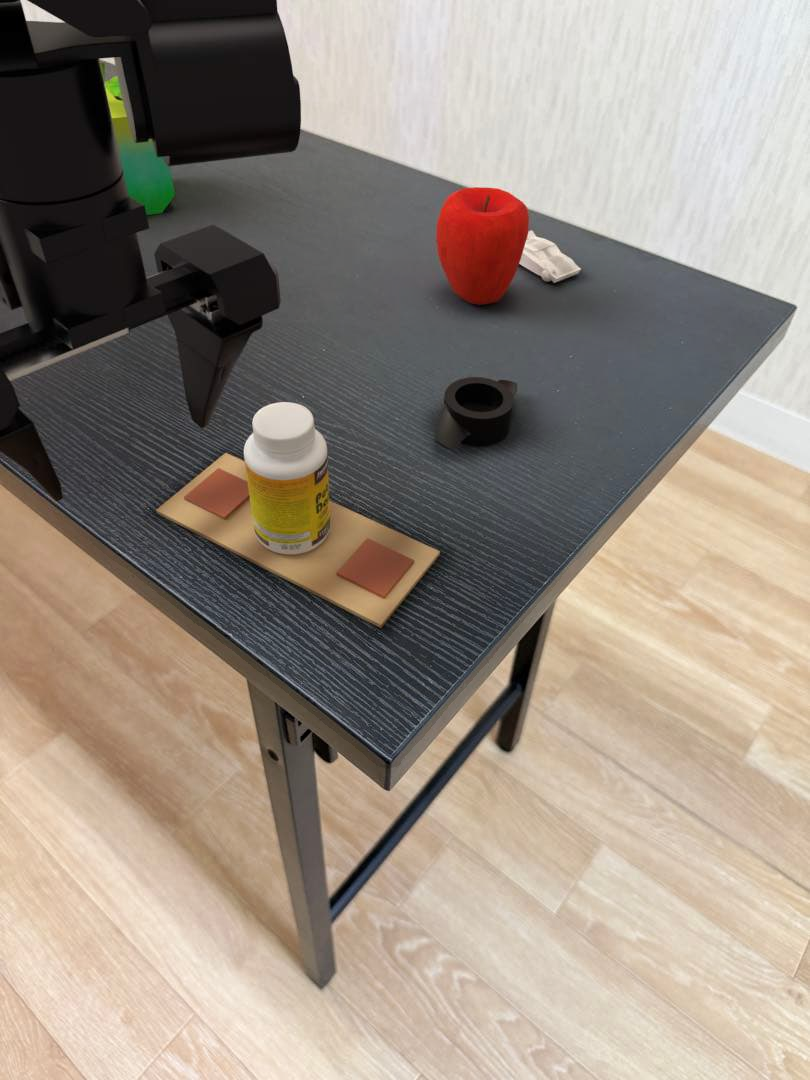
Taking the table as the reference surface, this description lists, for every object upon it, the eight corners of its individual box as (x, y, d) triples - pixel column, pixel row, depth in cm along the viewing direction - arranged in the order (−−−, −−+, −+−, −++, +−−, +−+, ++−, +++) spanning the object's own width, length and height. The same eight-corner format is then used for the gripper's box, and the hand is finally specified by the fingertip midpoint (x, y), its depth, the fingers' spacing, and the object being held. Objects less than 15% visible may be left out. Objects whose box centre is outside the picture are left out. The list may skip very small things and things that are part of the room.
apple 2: (418, 303, 83) (423, 198, 75) (457, 268, 88) (466, 167, 81) (495, 328, 80) (509, 222, 72) (531, 292, 85) (548, 189, 78)
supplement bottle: (329, 559, 57) (324, 448, 50) (250, 558, 57) (233, 446, 50) (332, 504, 61) (327, 394, 54) (259, 504, 61) (244, 393, 54)
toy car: (531, 247, 92) (534, 228, 91) (582, 276, 88) (586, 256, 86) (501, 258, 90) (504, 239, 89) (551, 288, 86) (555, 268, 84)
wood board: (156, 513, 61) (155, 507, 60) (226, 456, 65) (225, 449, 65) (381, 628, 54) (381, 622, 53) (439, 554, 59) (440, 548, 58)
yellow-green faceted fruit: (83, 223, 93) (45, 80, 82) (72, 189, 99) (36, 51, 88) (177, 210, 96) (153, 70, 85) (161, 178, 102) (137, 43, 91)
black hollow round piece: (548, 439, 68) (554, 412, 66) (440, 465, 65) (442, 437, 63) (507, 388, 73) (511, 361, 71) (405, 410, 70) (406, 382, 68)
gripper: (142, 80, 42) (189, 338, 54) (-256, 173, 33) (-97, 462, 44) (274, 143, 37) (295, 414, 48) (-155, 275, 28) (-4, 573, 39)
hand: (131, 458), depth 45 cm, fingers open, 9 cm apart
